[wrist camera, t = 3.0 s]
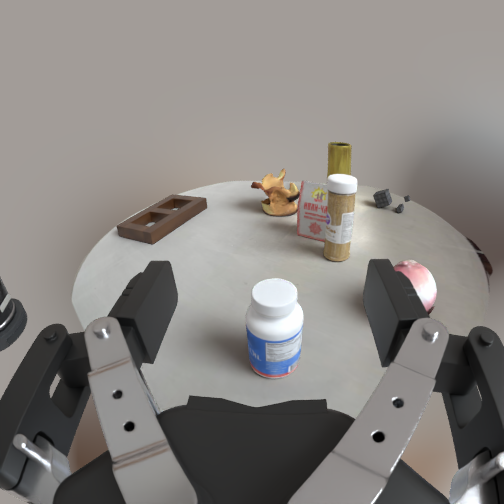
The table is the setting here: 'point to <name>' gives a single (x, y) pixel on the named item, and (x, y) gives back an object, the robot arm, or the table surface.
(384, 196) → the building blocks
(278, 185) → the orange curved piece
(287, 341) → the pill bottle
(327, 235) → the sprinkles bottle
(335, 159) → the vase
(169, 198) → the socket base
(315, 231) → the white gabled box
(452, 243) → the table surface
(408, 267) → the onion
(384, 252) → the table surface
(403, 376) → the robot arm
